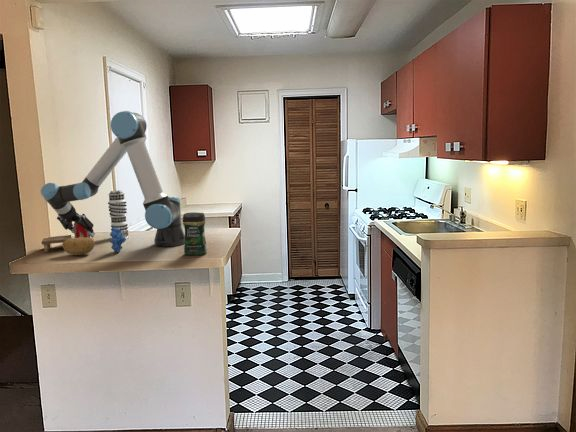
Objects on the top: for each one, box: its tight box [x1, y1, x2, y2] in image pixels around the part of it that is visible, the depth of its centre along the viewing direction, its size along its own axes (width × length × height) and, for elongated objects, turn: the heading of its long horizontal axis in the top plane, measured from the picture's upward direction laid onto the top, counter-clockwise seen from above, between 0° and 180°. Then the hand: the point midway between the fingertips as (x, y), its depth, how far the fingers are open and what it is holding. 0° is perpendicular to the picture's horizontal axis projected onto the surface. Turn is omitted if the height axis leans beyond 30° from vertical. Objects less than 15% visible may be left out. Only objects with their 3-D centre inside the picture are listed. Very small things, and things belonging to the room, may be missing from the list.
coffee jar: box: [182, 212, 208, 256], centre depth 206 cm, size 10×8×19 cm
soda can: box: [73, 222, 91, 238], centre depth 235 cm, size 7×7×12 cm
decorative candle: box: [107, 190, 129, 240], centre depth 246 cm, size 9×9×25 cm
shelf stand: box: [41, 234, 72, 253], centre depth 225 cm, size 12×12×5 cm
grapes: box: [109, 227, 127, 254], centre depth 214 cm, size 12×7×12 cm, turn 4°
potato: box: [61, 237, 96, 256], centre depth 211 cm, size 10×14×8 cm
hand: (86, 235), depth 239 cm, fingers closed on soda can, 7 cm apart
